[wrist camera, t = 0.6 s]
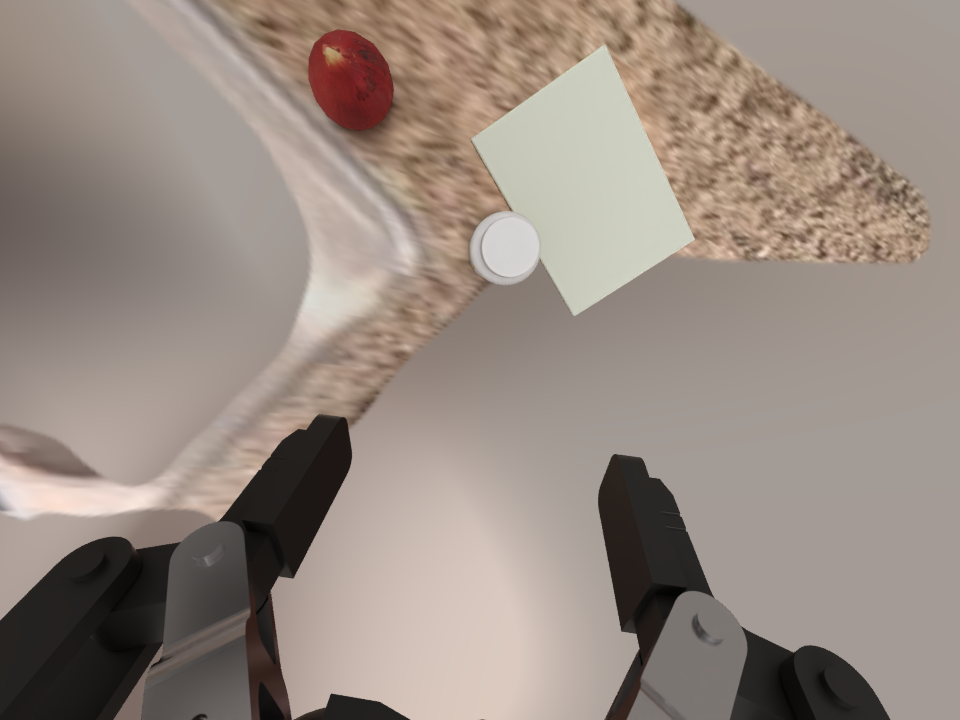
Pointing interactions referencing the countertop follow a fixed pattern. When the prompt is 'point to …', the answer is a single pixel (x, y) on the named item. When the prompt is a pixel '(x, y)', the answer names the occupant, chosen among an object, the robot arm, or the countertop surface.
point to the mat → (586, 182)
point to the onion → (350, 80)
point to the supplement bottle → (505, 248)
